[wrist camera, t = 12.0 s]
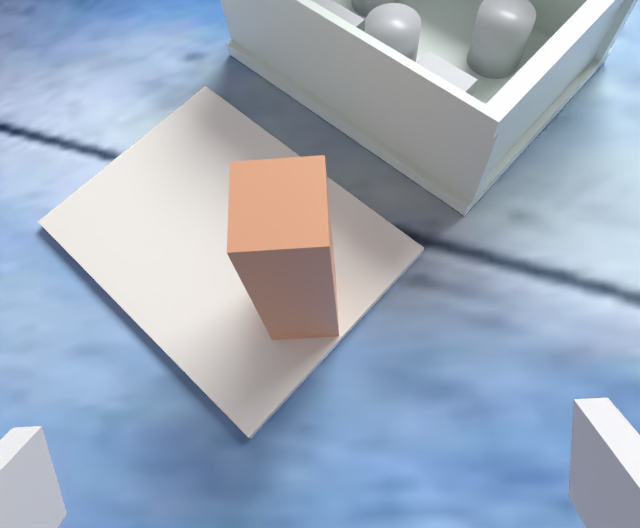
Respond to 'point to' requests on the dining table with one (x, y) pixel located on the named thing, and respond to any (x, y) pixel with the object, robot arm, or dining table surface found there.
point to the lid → (231, 253)
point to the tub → (430, 74)
